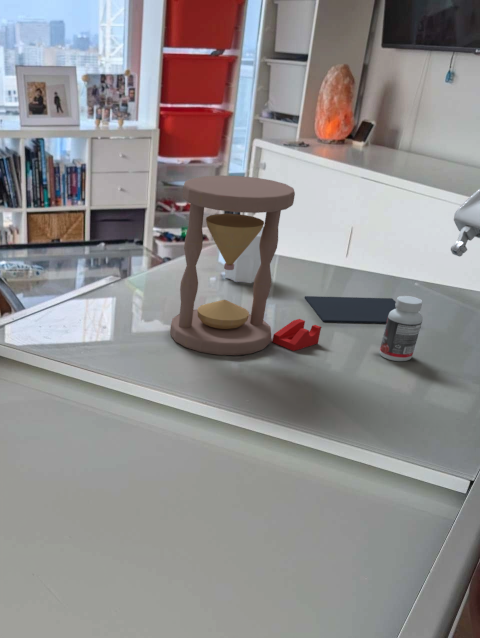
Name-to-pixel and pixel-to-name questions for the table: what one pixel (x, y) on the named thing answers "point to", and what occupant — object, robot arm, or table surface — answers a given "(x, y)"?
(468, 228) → the robot arm
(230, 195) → the hourglass
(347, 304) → the mat
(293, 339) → the bracket
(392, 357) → the pill bottle
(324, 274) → the table surface
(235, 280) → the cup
